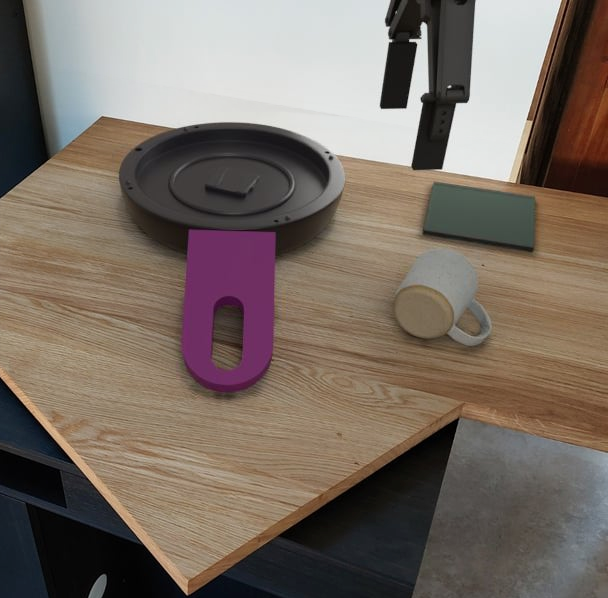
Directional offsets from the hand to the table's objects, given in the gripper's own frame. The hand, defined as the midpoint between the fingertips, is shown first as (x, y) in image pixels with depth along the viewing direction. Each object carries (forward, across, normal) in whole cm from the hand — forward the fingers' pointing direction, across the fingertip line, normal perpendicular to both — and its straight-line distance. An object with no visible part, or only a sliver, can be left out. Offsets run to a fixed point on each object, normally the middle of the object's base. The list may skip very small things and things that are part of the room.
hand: (408, 136), depth 77 cm
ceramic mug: (+21, +4, +6) cm, 22 cm away
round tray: (+21, -24, -15) cm, 35 cm away
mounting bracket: (+21, +5, -18) cm, 28 cm away
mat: (+21, -20, +18) cm, 34 cm away
